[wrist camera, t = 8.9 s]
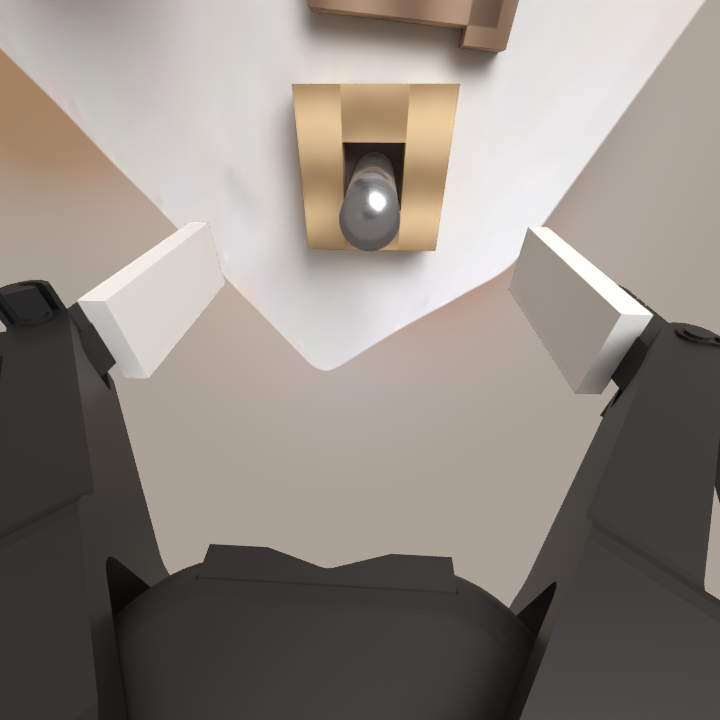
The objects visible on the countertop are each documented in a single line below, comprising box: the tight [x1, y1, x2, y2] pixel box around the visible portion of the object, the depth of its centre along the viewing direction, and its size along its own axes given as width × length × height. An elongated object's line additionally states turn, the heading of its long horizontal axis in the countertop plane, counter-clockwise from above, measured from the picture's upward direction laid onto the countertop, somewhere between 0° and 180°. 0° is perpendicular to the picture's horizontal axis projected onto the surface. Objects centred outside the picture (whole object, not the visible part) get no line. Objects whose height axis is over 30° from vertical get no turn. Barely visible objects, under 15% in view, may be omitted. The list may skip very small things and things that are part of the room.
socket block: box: [292, 84, 460, 251], centre depth 29 cm, size 12×12×4 cm
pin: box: [339, 152, 400, 251], centre depth 25 cm, size 4×4×14 cm
